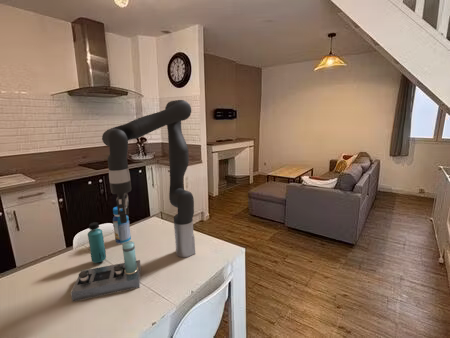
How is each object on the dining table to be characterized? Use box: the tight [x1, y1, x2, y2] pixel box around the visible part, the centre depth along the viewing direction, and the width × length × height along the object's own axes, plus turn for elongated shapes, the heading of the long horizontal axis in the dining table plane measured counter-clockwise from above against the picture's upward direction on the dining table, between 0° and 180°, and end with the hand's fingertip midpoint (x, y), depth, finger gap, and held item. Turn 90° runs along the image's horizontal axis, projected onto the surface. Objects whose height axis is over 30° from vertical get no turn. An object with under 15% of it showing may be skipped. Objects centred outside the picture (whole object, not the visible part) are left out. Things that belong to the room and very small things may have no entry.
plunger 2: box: [114, 263, 123, 277], centre depth 100 cm, size 4×4×5 cm
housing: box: [70, 259, 142, 302], centre depth 100 cm, size 24×14×4 cm, turn 107°
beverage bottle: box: [87, 222, 107, 264], centre depth 114 cm, size 6×7×20 cm
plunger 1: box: [78, 270, 89, 284], centre depth 97 cm, size 4×4×5 cm
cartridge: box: [121, 240, 137, 273], centre depth 101 cm, size 5×5×12 cm
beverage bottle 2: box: [112, 206, 132, 245], centre depth 134 cm, size 8×8×20 cm
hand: (125, 218), depth 97 cm, fingers open, 8 cm apart
